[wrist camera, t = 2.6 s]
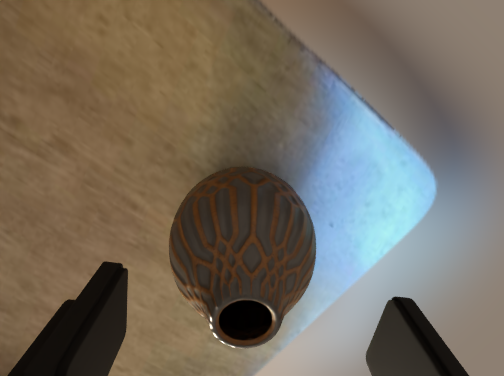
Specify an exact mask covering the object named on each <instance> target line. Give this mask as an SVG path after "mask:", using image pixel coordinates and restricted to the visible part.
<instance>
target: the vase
mask: <svg viewBox="0 0 504 376" xmlns="http://www.w3.org/2000/svg"><path fill="white" fill-rule="evenodd" d="M169 256H170V264H171V269H172V273H173V276H174V279H175V282H176V284H177V286H178V289H179V290H180V292H181V294H182V295H183V297H184V298H185V299H186V301H187V302H188V303H189V304H190V305H191V306H192V307H193V308H194V309H195V310H196V311H197V312H198V313H199V314H200V315H201V316H203V317H204V318H205V319H206V320H207V322H208V324H209V327H210V329H211V331H212V332H213V334H214V335H215V337H216V338H217V339H218V340H220V341H221V342H222V343H224V344H226V345H228V346H231V347H235V348H253V347H257V346H260V345H263V344H265V343H266V342H268V341H269V340H271V339H272V338H273V337H274V336H275V335H276V333H277V332H278V330H279V328H280V326H281V323H282V320H283V318H284V316H285V315H286V314H287V313H288V312H289V311H290V310H291V309H292V308H293V307H294V305H295V304H296V303H297V302H298V301H299V300H300V298H301V297H302V295H303V294H304V292H305V291H306V289H307V287H308V285H309V283H310V280H311V277H312V274H313V270H314V265H315V259H316V237H315V231H314V226H313V223H312V220H311V217H310V215H309V212H308V210H307V208H306V206H305V205H304V203H303V201H302V200H301V198H300V197H299V196H298V194H297V193H296V192H295V191H294V189H293V188H292V187H291V186H290V185H288V184H287V183H286V182H285V181H283V180H282V179H280V178H279V177H277V176H276V175H274V174H272V173H269V172H267V171H264V170H261V169H257V168H251V167H234V168H228V169H225V170H221V171H218V172H216V173H214V174H212V175H210V176H208V177H206V178H205V179H203V180H202V181H201V182H199V183H198V184H197V185H196V186H195V187H194V188H193V189H192V190H191V191H190V192H189V193H188V194H187V196H186V197H185V199H184V200H183V202H182V203H181V205H180V207H179V209H178V211H177V213H176V215H175V218H174V221H173V224H172V227H171V232H170V239H169Z"/></svg>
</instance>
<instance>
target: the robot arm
mask: <svg viewBox="0 0 504 376" xmlns="http://www.w3.org/2000/svg"><path fill="white" fill-rule="evenodd" d="M127 284H128V270H127V269H126V268H123V265H122V264H121V263H113V262H103V263H102V264H101V266H100V267H99V269H98V270H97V271H96V273H95V274H94V275H93V277H92V278H91V280H90V281H89V282H88V284H87V285H86V286H85V288H84V289H83V291H82V292H81V293H80V295H79V296H78V297H77V299H76V300H67V301H65V302H64V303H63V304H62V305H61V307H60V308H59V309H58V311H57V312H56V313H55V315H54V316H53V317H52V318H51V320H50V321H49V322H48V324H47V325H46V326H45V328H44V329H43V330H42V331H41V333H40V334H39V335H38V337H37V338H36V339H35V341H34V342H33V343H32V344H31V346H30V347H29V348H28V350H27V351H26V352H25V353H24V355H23V356H22V357H21V359H20V360H19V361H18V363H17V364H16V365H15V366H14V368H13V369H12V370H11V372H10V373H9V374H8V376H108V374H109V371H110V369H111V367H112V365H113V362H114V360H115V358H116V356H117V353H118V351H119V349H120V347H121V344H122V342H123V340H124V337H125V333H126V323H127ZM366 362H367V365H368V367H369V370H370V372H371V375H372V376H469V375H468V374H467V372H466V371H465V370H464V368H463V367H462V366H461V364H460V363H459V361H458V360H457V359H456V358H455V356H454V355H453V353H452V352H451V351H450V349H449V348H448V347H447V345H446V344H445V343H444V341H443V340H442V338H441V337H440V336H439V335H438V333H437V332H436V330H435V329H434V328H433V326H432V325H431V324H430V322H429V321H428V320H427V318H426V317H425V316H424V314H423V313H422V311H421V310H420V309H419V307H418V306H417V305H416V303H415V302H414V301H413V300H412V299H410V298H403V297H393V298H392V300H389V301H388V302H387V304H386V306H385V309H384V311H383V314H382V316H381V319H380V321H379V324H378V326H377V328H376V331H375V333H374V336H373V338H372V340H371V343H370V345H369V348H368V350H367V353H366Z"/></svg>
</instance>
